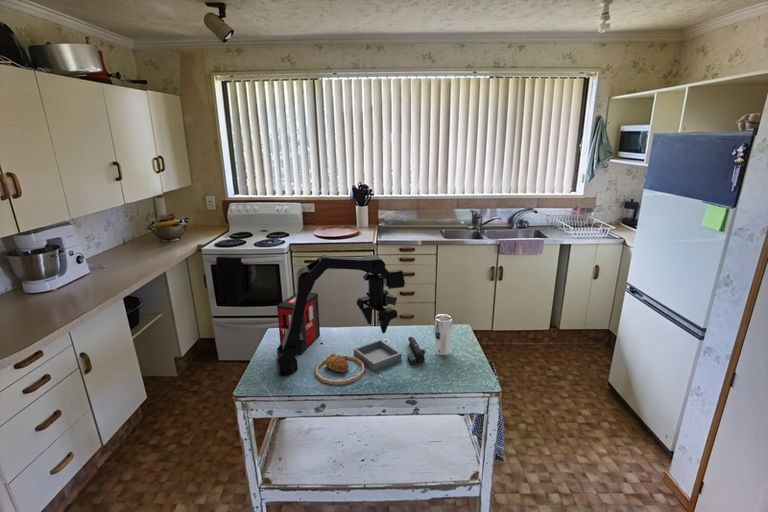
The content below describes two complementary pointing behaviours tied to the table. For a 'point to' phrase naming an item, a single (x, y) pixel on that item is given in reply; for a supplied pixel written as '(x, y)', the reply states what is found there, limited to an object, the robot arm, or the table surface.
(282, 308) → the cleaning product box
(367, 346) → the bin
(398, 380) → the table surface
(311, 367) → the table surface
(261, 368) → the table surface
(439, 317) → the drink can
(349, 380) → the socket ring
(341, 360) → the pastry
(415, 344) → the can opener
